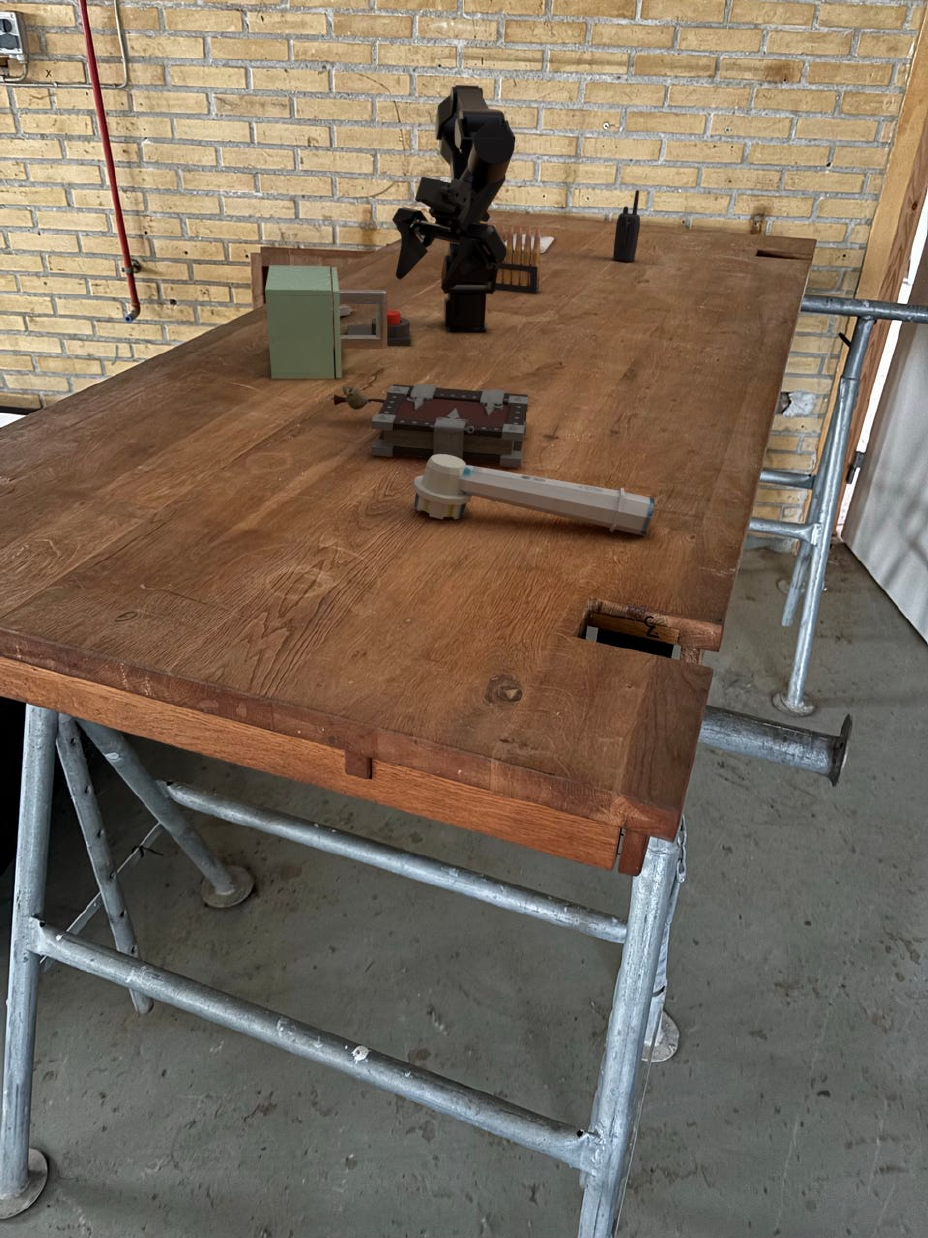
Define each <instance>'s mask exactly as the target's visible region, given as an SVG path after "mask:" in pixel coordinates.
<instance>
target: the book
mask: <svg viewBox="0 0 928 1238" xmlns="http://www.w3.org/2000/svg"><path fill="white" fill-rule="evenodd" d="M342 393H343V395H345V397H343V396H340V395H337V394H334V395H333V404H334V406H337V405H339V404H342V403H347V405H348V406H349V407H350V408H351V409H352V410H355V411H358V410H360V409H363V408H364V407H365V406H366V405H367V404H368V403H372V402H373V403H374V402H375V403H380V404H382V405H381V407H380V409H379V411H378V412H377V413H374V415H373V417H372V419H371V422H370V427H371V428H370V429H371V430H378V431H381V432H380V434H379V436H378V438H376V439H375V440H374V441H373V443H372V445H371V456H377V457H389V458H393V457H394V456H403V457H404V456H405V457H416V458H428V459H430V458H431V457H432V456H433V455H436V454H447V455H451V456H455V457H457V458H460V459H462V460H463V461H464V462H476V463H490V464H499V466H500V467H510V468H519V469H520V468H522V461H523V451H522V449H523V442H524V438H525V437H526V434H527V427H528V426H527V425H528V421H527V412H528V410H529V400H530V396H529V394H525V393H524V394H522V393H510V392H507V391H505V390H503V389H490V388H489V389H488V388H483V389H479V390H474V389H461V388H460V389H458V388H447V387H441V386H438V385H437V384H427V383H415V384H412V385H409V384H408V385H405V384H397V383H394V384H393V385H390V386H389V388H388V389H387V391H386V397H385V399H384V398H383V399H382V398H368V396H367V395H366V393H365V391H364V390H363V389H362V388H360V387H358V386H347V385H345V386H343V385H342Z"/></svg>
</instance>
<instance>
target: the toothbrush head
mask: <svg viewBox="0 0 928 1238" xmlns="http://www.w3.org/2000/svg"><path fill="white" fill-rule="evenodd" d="M412 489H413V490H414V491H415V496H414V503H413V506H414V507H415V509H416V510H417V511H418V512H422V511H424V512H426V513H428V514H429V517H430V518H436V519H439V520H443V519H444V518H445V517H446V518H452V519H454V520H458V519H461V518H464V516H465V513H466V507H467V504H468V503H470V502H471V500H472V497H477V498H481V499H485V500H489V501H493V502H498V503H502V504H506V505H510V506H515V507H520V508H523V509H527V510H532V511H536V512H540V513H541V512H542V513H545V514H549V515H552V516H557V517H562V518H565V519H571V520H575V521H577V522H578V521H579V522H583V523H588V524H592V525H595V526H601V527H604V528H609V532H610V533H613V532H614V531H615V530H618V531H621V532H626V533H631V534H635V535H639V536H644V537H645V536H646V535H647V533H649V529H650V526H651V524H652V521H653V515H654V511H655V505H656V503H655V498H653V497H650V496H649V497H648V496H644V495H641V494H636V493H631V492H627V491H625V487H620V488H619V490H617V489H611V488H606V487H600V486H593V485H588V484H581V483H575V482H570V481H563V480H558V479H552V478H546V477H541V476H534V475H528V474H522V473H516V472H512V471H511V472H510V471H506V470H505V471H504V470H499V469H498V470H497V469H493V468H487V467H481V466H476V465H475V466H474V465H470V464H466V461H464V460H462V459H460V458H457V457H455V456H451V455H447V454H436V455H433V456H432V457H431V458H428V461H427V463H426V465H425V469H424V472H423V474H422V475H419V476H416V477H415V478H414V480H413V484H412Z"/></svg>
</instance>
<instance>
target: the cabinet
mask: <svg viewBox="0 0 928 1238" xmlns="http://www.w3.org/2000/svg"><path fill="white" fill-rule="evenodd" d="M264 293H265V294H264V295H265V306H266V307H265V308H266V320H267V321H266V323H267V334H268V336H267V337H268V347H269V361H270V374H271V375H270V377H271V380H274V379H276V380H278V379H279V380H281V379H283V380H285V379H286V380H288V379H290V380H291V379H292V380H293V379H294V380H295V379H296V380H297V379H300V380H301V379H302V380H303V379H304V380H305V379H307V380H308V379H312V380H313V379H314V380H315V379H316V380H317V379H318V380H319V379H322V380H323V379H334V380H335V353H334V325H333V317H332V307H333V297H332V276H331V266H329V265H278V264H277V265H275V264H274V265H271V264H269V266H268V272H267V277H266V283H265V288H264Z"/></svg>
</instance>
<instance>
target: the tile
mask: <svg viewBox="0 0 928 1238" xmlns="http://www.w3.org/2000/svg"><path fill="white" fill-rule="evenodd" d="M513 235H514V237H513V246H514V249H515V244H516V236H517V233H513ZM525 237H526V233H525V234H523V233H522V253H523V250H524V244H525ZM534 238H535V234H531V254H532V250H533V245H534ZM554 240H555V237H553V236H547V235H540V254H542V253H545V252H546V250H548V248H549V247H550V245H551V244H552V243H553V242H554ZM505 245H506V246H507V239H506V240H505Z"/></svg>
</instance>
